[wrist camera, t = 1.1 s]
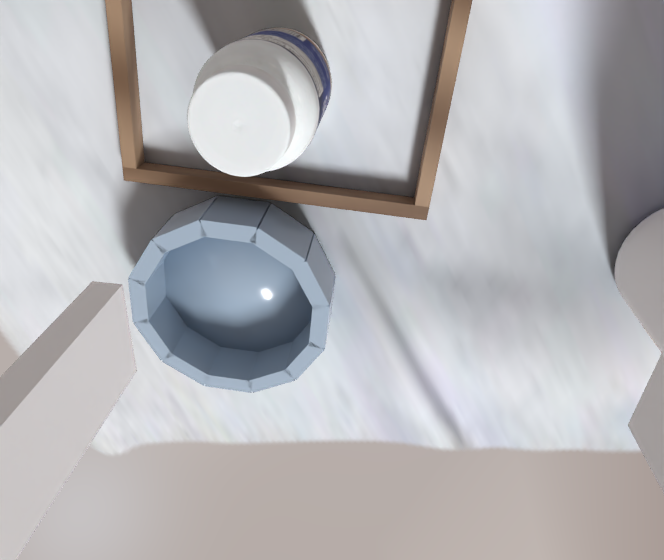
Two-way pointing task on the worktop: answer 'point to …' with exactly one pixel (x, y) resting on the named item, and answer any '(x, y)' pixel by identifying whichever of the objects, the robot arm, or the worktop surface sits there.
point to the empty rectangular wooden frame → (265, 187)
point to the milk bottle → (644, 274)
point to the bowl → (234, 294)
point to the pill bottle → (259, 102)
